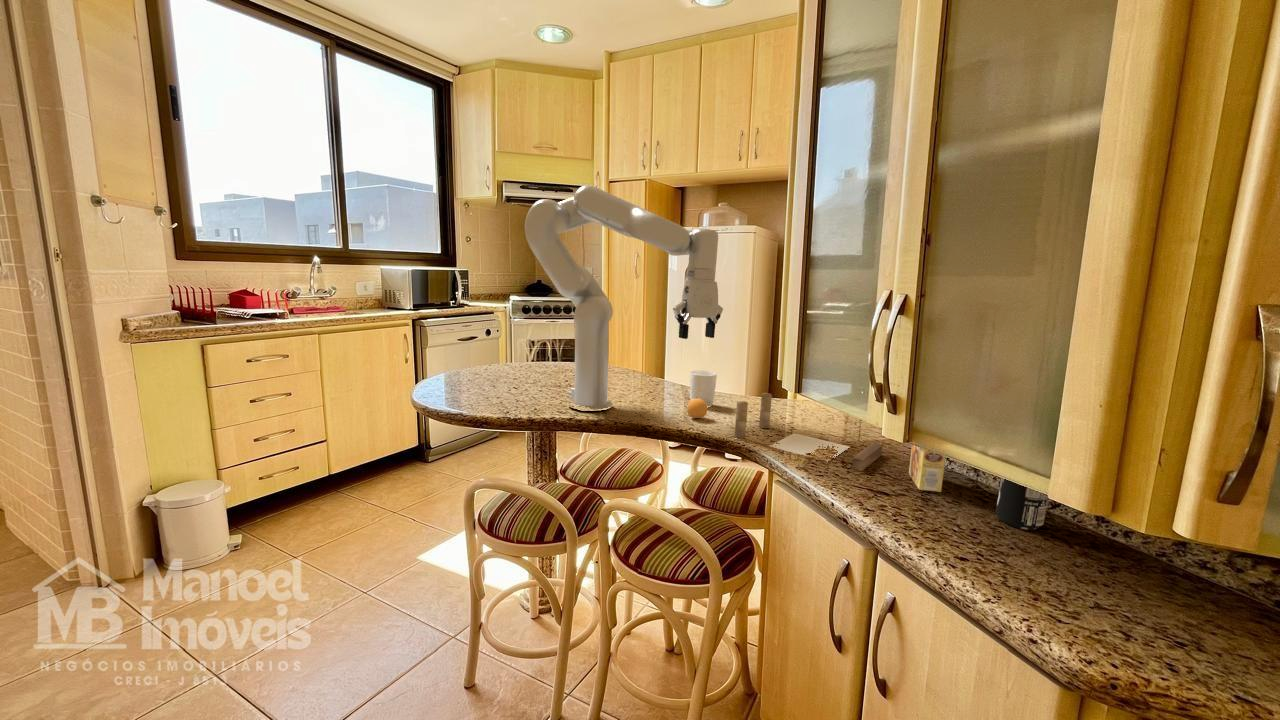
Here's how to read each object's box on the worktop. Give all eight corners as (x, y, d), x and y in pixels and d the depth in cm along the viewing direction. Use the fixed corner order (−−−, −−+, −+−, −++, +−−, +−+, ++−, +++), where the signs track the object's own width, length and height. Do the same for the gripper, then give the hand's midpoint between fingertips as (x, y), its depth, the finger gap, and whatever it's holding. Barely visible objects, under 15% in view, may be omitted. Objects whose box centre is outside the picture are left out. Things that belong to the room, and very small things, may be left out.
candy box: (942, 493, 99) (953, 415, 96) (917, 490, 100) (928, 413, 97) (928, 476, 107) (938, 403, 105) (906, 473, 108) (915, 401, 106)
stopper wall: (851, 469, 109) (852, 457, 109) (872, 452, 120) (873, 442, 120) (861, 471, 108) (862, 460, 108) (881, 455, 119) (882, 444, 118)
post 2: (757, 427, 136) (759, 394, 135) (761, 425, 138) (764, 392, 137) (766, 429, 135) (769, 395, 133) (770, 427, 137) (773, 394, 135)
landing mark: (768, 446, 121) (768, 446, 121) (794, 434, 132) (794, 433, 132) (828, 462, 113) (828, 461, 113) (850, 447, 123) (850, 446, 123)
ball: (682, 418, 142) (683, 398, 141) (693, 414, 146) (695, 395, 145) (699, 422, 139) (700, 402, 138) (710, 418, 143) (712, 399, 142)
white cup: (684, 402, 159) (686, 370, 158) (708, 401, 162) (710, 370, 160) (694, 409, 152) (696, 376, 150) (719, 408, 154) (721, 375, 153)
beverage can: (997, 509, 93) (1007, 445, 91) (1043, 521, 89) (1055, 454, 87) (992, 522, 88) (1004, 454, 86) (1041, 535, 84) (1054, 464, 81)
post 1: (732, 438, 127) (734, 402, 125) (737, 435, 129) (740, 400, 127) (741, 440, 125) (744, 404, 124) (747, 438, 127) (749, 402, 126)
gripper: (685, 275, 134) (681, 340, 137) (733, 277, 144) (728, 338, 147) (667, 273, 140) (663, 336, 143) (715, 276, 150) (710, 335, 153)
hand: (696, 337), depth 145 cm, fingers open, 9 cm apart
